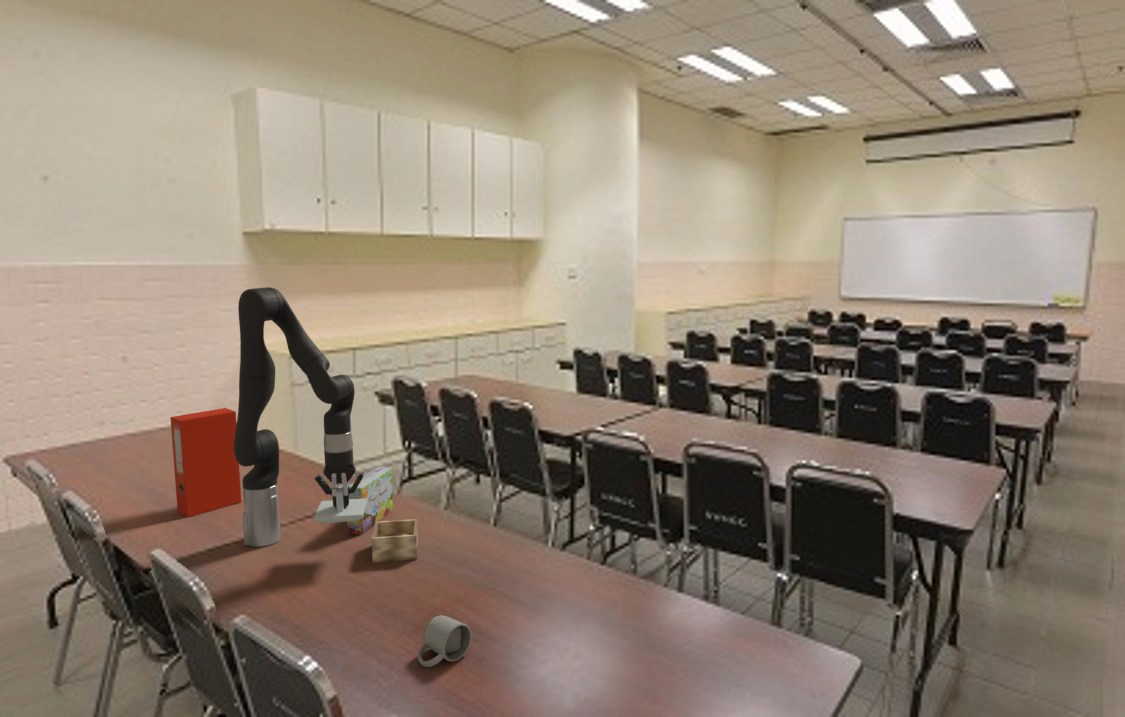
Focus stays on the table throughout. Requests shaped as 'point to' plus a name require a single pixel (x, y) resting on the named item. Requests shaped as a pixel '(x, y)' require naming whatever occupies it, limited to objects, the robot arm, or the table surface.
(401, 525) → the box
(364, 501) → the lid
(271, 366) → the robot arm
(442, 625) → the ceramic mug
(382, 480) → the snack box
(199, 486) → the file binder
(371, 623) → the table surface
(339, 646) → the table surface
